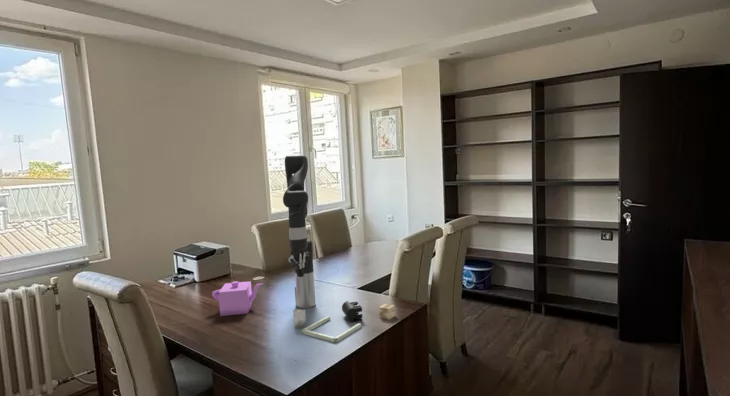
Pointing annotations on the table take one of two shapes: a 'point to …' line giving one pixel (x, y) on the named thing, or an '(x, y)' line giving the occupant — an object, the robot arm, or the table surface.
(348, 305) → the end cap
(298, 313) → the grey metal tin
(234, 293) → the teapot
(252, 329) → the table surface
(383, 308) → the maple block
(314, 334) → the pale green frame
